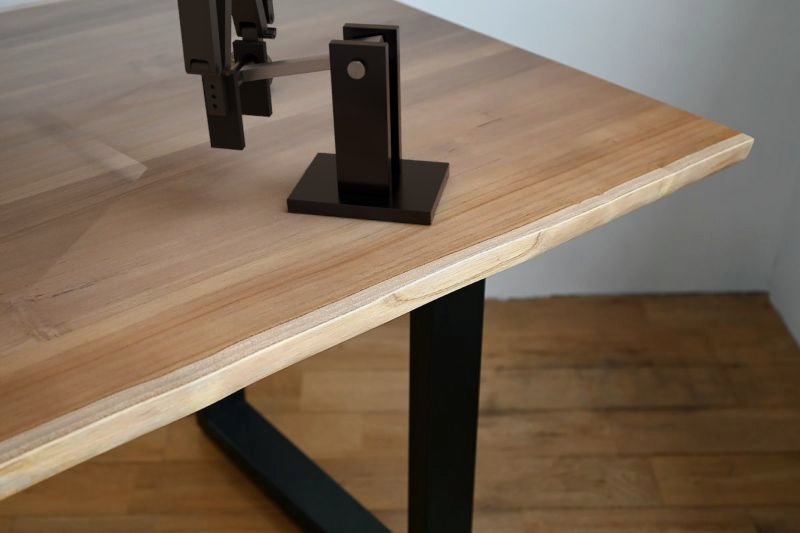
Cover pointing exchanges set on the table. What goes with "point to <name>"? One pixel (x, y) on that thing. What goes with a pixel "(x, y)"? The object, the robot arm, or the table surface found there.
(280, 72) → the lever
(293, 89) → the table surface
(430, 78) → the table surface
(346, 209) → the bracket
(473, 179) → the table surface
